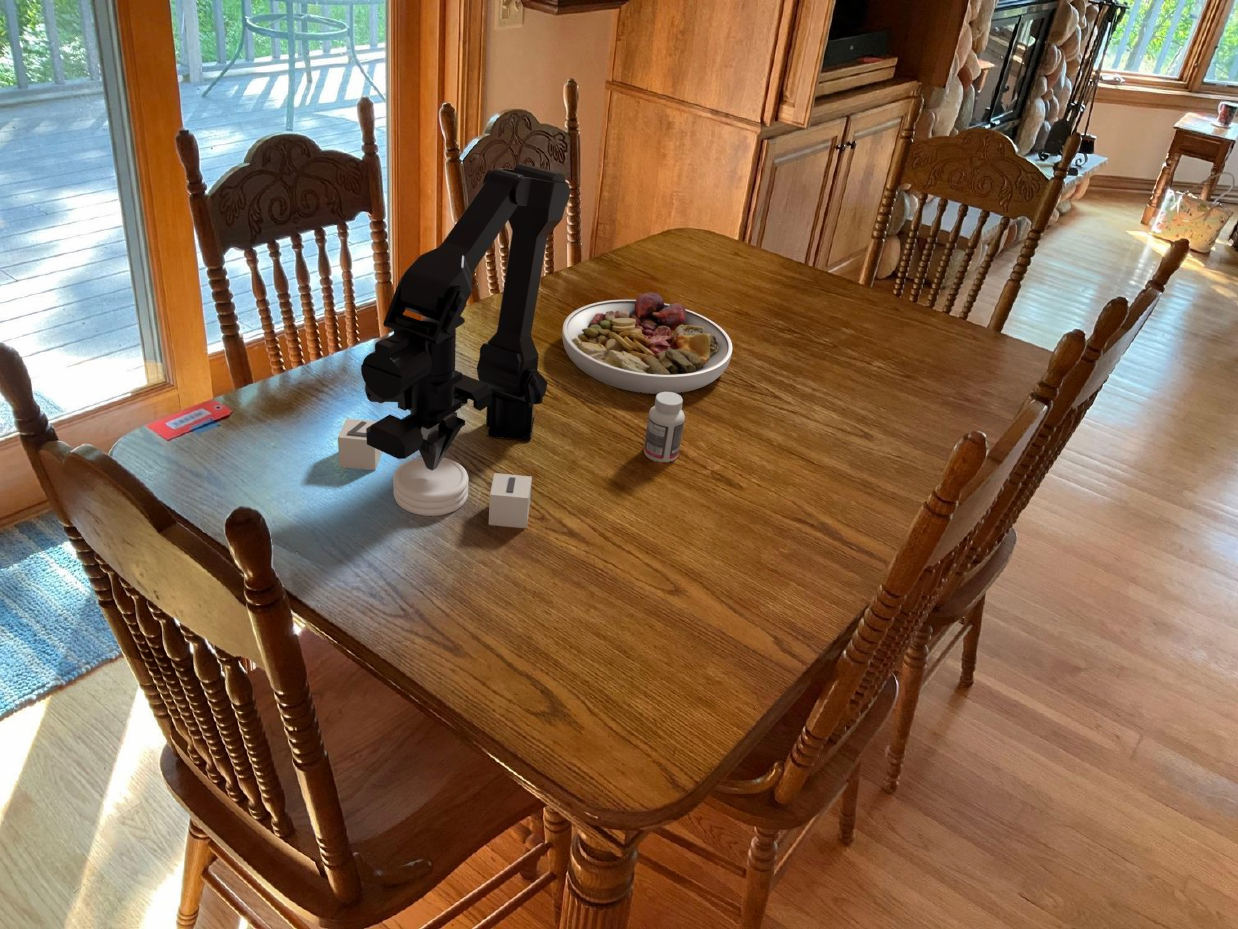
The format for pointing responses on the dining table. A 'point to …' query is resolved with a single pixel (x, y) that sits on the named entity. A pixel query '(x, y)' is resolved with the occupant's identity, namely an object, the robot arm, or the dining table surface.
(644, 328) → the bowl
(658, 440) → the pill bottle
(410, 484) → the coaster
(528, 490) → the block one
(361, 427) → the block seven
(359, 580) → the dining table surface
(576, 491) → the dining table surface
